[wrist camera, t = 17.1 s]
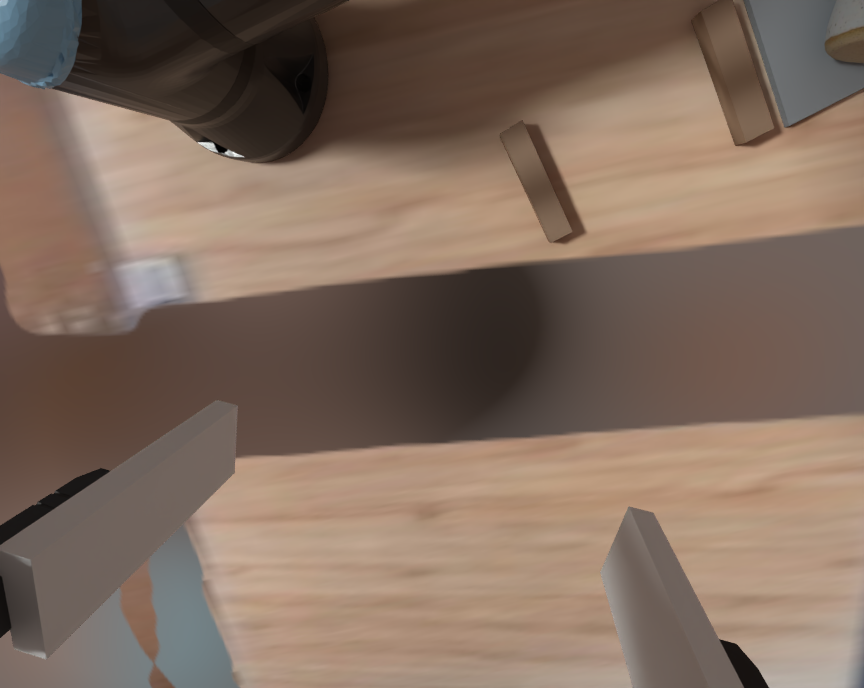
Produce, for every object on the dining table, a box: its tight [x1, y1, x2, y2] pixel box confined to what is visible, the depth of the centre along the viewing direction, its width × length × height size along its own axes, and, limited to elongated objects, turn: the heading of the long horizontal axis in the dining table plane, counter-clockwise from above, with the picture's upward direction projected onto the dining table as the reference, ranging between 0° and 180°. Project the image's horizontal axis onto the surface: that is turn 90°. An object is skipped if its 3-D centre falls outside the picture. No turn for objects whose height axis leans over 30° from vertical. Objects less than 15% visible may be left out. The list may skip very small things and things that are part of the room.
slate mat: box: [743, 0, 864, 127], centre depth 30 cm, size 11×13×1 cm
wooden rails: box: [500, 0, 774, 243], centre depth 34 cm, size 10×18×2 cm, turn 119°
